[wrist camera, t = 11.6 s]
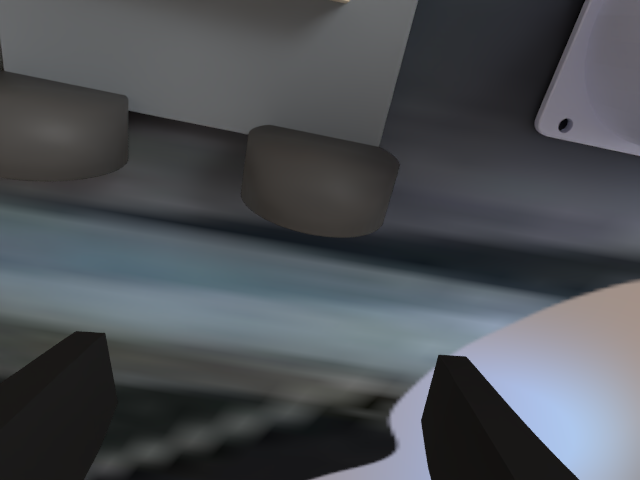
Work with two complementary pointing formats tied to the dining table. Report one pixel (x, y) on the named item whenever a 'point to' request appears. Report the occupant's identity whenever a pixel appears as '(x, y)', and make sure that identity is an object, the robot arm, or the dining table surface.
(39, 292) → the dining table surface
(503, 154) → the dining table surface
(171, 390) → the dining table surface
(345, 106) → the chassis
